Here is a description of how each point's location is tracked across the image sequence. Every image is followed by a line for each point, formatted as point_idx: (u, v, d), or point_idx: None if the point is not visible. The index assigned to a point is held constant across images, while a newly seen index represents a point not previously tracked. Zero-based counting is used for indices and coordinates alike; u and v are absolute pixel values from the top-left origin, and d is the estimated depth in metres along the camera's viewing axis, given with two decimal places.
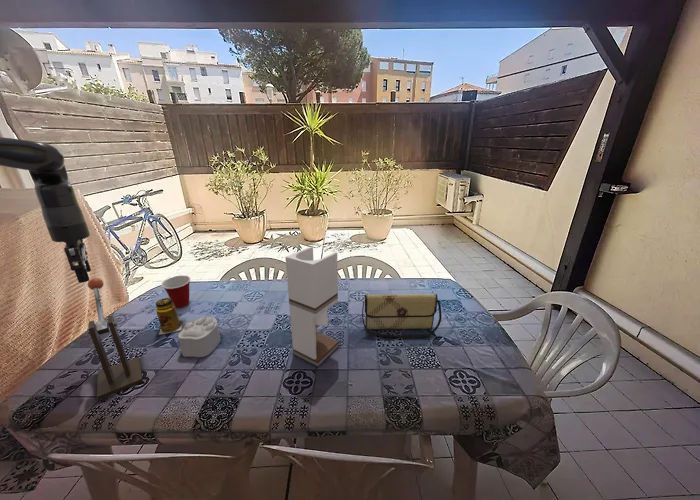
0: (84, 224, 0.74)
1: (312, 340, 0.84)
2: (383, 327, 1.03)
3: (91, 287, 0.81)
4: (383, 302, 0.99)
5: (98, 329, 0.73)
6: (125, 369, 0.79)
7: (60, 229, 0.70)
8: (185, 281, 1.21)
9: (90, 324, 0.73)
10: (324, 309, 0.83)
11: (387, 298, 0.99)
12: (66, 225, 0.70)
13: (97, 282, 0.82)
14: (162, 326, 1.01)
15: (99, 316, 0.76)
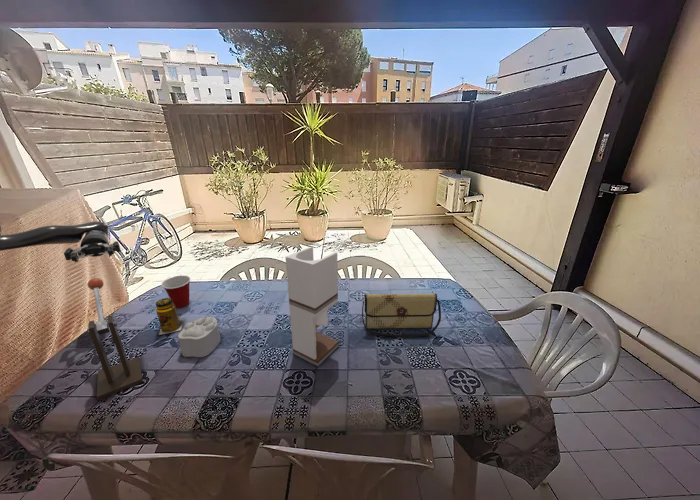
0: None
1: (312, 340, 0.84)
2: (383, 326, 1.03)
3: (91, 287, 0.81)
4: (383, 301, 1.00)
5: (98, 329, 0.73)
6: (125, 369, 0.79)
7: (106, 240, 1.03)
8: (185, 281, 1.21)
9: (90, 324, 0.73)
10: (324, 309, 0.83)
11: (386, 298, 0.99)
12: (108, 243, 1.04)
13: (97, 282, 0.82)
14: (162, 326, 1.01)
15: (99, 316, 0.76)
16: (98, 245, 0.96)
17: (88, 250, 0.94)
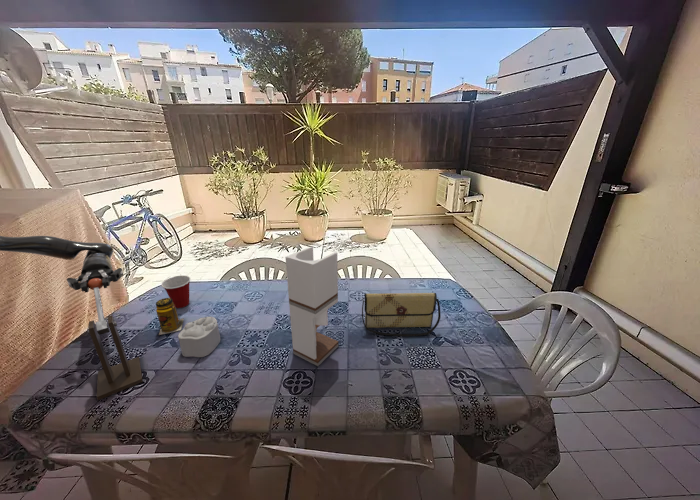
0: None
1: (312, 340, 0.84)
2: (383, 326, 1.04)
3: (91, 287, 0.81)
4: (383, 301, 1.00)
5: (98, 329, 0.73)
6: (125, 369, 0.79)
7: (110, 264, 0.94)
8: (185, 281, 1.21)
9: (90, 324, 0.73)
10: (324, 309, 0.83)
11: (386, 297, 1.00)
12: (111, 267, 0.95)
13: (97, 282, 0.82)
14: (162, 326, 1.01)
15: (99, 316, 0.76)
16: (98, 272, 0.87)
17: (90, 278, 0.85)
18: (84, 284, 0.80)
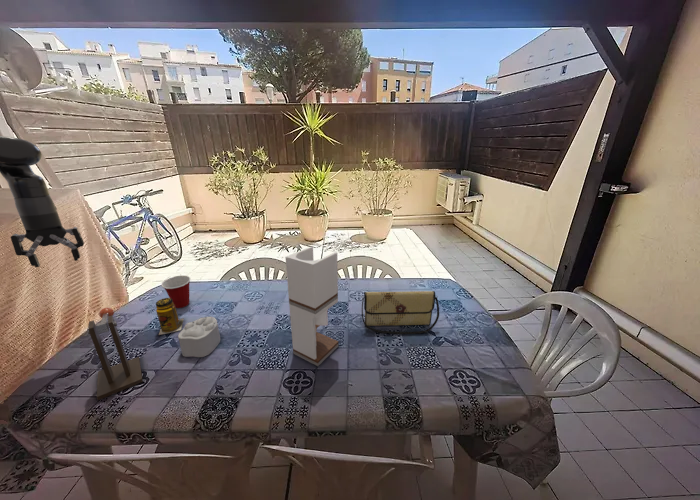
0: None
1: (312, 340, 0.84)
2: (382, 324, 1.05)
3: (101, 313, 0.86)
4: (382, 299, 1.01)
5: (97, 325, 0.74)
6: (125, 369, 0.79)
7: (56, 214, 0.81)
8: (185, 281, 1.21)
9: (90, 324, 0.73)
10: (324, 309, 0.83)
11: (386, 295, 1.01)
12: (56, 211, 0.82)
13: (107, 308, 0.87)
14: (162, 326, 1.01)
15: None
16: (55, 240, 0.82)
17: None
18: (35, 263, 0.81)
